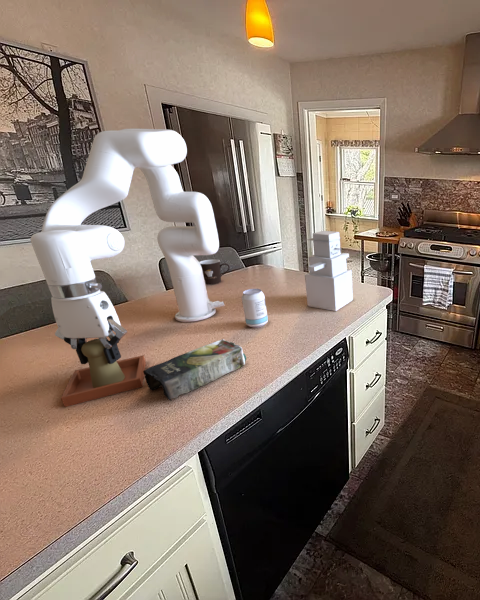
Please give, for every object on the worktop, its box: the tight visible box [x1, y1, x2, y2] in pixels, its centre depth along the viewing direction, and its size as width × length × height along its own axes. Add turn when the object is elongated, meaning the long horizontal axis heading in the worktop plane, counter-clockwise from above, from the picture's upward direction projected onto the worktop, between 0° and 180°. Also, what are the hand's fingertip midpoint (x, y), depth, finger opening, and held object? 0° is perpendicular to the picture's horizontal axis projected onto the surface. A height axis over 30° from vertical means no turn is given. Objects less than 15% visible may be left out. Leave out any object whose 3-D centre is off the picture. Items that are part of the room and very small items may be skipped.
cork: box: [81, 338, 125, 388], centre depth 77 cm, size 6×6×11 cm
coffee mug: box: [199, 259, 231, 285], centre depth 151 cm, size 12×9×10 cm
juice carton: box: [143, 338, 247, 401], centre depth 81 cm, size 20×10×6 cm, turn 149°
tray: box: [60, 354, 147, 408], centre depth 79 cm, size 14×13×2 cm
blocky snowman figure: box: [304, 230, 354, 312], centre depth 125 cm, size 13×24×28 cm, turn 158°
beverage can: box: [241, 288, 269, 329], centre depth 108 cm, size 7×7×12 cm
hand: (101, 360), depth 77 cm, fingers closed on cork, 5 cm apart
